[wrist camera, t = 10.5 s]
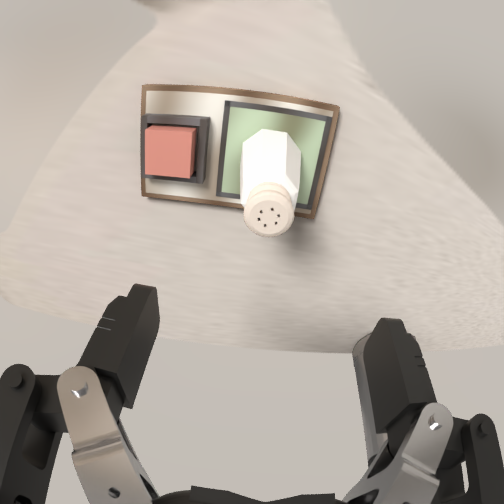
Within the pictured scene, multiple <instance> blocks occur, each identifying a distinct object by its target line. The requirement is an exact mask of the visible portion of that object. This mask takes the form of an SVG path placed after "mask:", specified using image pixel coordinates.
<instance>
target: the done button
mask: <svg viewBox="0 0 504 504" xmlns="http://www.w3.org/2000/svg"><path fill="white" fill-rule="evenodd" d="M196 132H197V128H188V127H174V126H154V125H152V126H150V127H149V128H147V129H145V174H148V175H160V176H170V177H180V178H190V177H191V176H192V174H193V173H194V163H195V146H196Z"/></svg>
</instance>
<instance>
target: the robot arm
mask: <svg viewBox="0 0 504 504" xmlns="http://www.w3.org/2000/svg"><path fill="white" fill-rule="evenodd" d="M159 323H160V315H159V306H158V297H157V289H156V287H152V286H146V285H141V284H134V285H133V286H132V288H131V290H130V292H129V294H128V296H127V297H124V296H118V297H117V298H116V299H114V300H113V301H112V302H111V303H110V304H108V306H107V308H106V310H105V312H104V314H103V315H102V318H101V319H100V321H99V323H98V325H97V328H96V329H95V331H94V333H93V335H92V336H91V338H90V341H89V342H88V345H87V347H86V348H85V351H84V353H83V355H82V357H81V359H80V361H79V362H78V364H77V365H76V366H75V367H71V368H69V369H67V370H66V371H64V372H63V373H62V374H61V375H35V374H34V373H33V372H32V370H31V369H30V368H29V367H28V366H26V365H23V364H15V365H12V366H10V367H9V368H7V369H6V370H5V371H4V373H3V375H2V376H1V378H0V504H45V500H46V496H47V491H48V487H49V482H50V478H51V474H52V470H53V466H54V462H55V458H56V454H57V451H58V447H59V444H60V440H61V437H62V434H63V432H66V433H69V435H70V438H71V441H72V444H73V448H74V451H73V452H72V460H73V464H74V467H75V469H76V472H77V474H78V477H79V479H80V482H81V485H82V487H83V489H84V492H85V494H86V496H87V499H88V501H89V503H90V504H504V467H503V461H502V456H501V451H500V447H499V442H498V437H497V433H496V429H495V425H494V423H493V421H492V420H491V419H490V417H488V416H487V415H485V414H477V415H475V416H474V417H473V418H472V419H470V420H464V419H460V418H455V417H452V415H451V413H450V411H449V410H448V409H447V408H446V407H445V406H444V405H442V404H439V403H437V401H436V397H435V394H434V391H433V387H432V384H431V380H430V378H429V374H428V371H427V368H425V362H424V359H423V358H422V353H421V350H420V347H419V344H418V343H417V341H416V338H415V336H412V335H411V334H409V333H407V332H406V329H405V327H404V324H403V322H402V320H401V319H392V318H381V319H380V320H379V321H378V323H377V325H376V327H375V328H374V330H373V332H372V333H371V334H369V335H367V336H366V337H364V338H363V339H361V340H360V341H359V342H358V343H357V344H356V346H355V347H354V349H353V354H352V355H353V360H354V367H355V372H356V378H357V385H358V391H359V397H360V403H361V411H362V417H363V425H364V433H365V441H366V449H367V458H368V467H369V468H368V470H367V471H366V473H365V474H364V476H363V477H362V479H361V480H360V481H359V482H358V483H357V484H356V485H355V486H354V487H353V488H352V489H351V490H350V491H349V492H348V494H346V496H345V497H344V499H343V500H342V501H340V500H337V499H335V494H334V493H333V494H315V495H314V494H311V495H298V496H294V497H290V498H286V499H280V500H275V501H270V502H261V501H258V500H255V499H251V498H248V497H245V496H242V495H239V494H235V493H232V492H230V491H225V490H216V489H210V488H203V487H197V486H191V490H186V491H178V492H173V493H169V494H166V495H163V496H161V497H160V496H159V494H158V493H157V491H156V489H155V488H154V486H153V484H152V482H151V480H150V478H149V477H148V475H147V473H146V472H145V470H144V468H143V467H142V465H141V463H140V462H139V459H138V457H137V455H136V453H135V451H134V449H133V447H132V445H131V443H130V440H129V438H128V436H127V434H126V432H125V430H124V427H123V425H122V422H121V420H120V418H119V416H120V413H121V410H122V407H126V408H130V409H132V408H133V404H134V401H135V398H136V395H137V392H138V389H139V386H140V383H141V380H142V377H143V374H144V371H145V368H146V365H147V362H148V358H149V356H150V353H151V350H152V347H153V345H154V342H155V339H156V336H157V333H158V329H159ZM464 461H466V467H467V474H468V481H469V488H468V491H467V492H466V493H465V490H464V482H463V474H462V466H461V463H462V462H464Z"/></svg>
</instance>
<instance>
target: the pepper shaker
mask: <svg viewBox="0 0 504 504" xmlns="http://www.w3.org/2000/svg"><path fill="white" fill-rule="evenodd" d="M300 166H301V151H300V149H299V148H298V147H297V145H296V144H295V142H294V141H293V140H292V138H291V137H290V136H289V134H288V133H287V132H281V131H274V130H267V129H261V130H260V131H259V132H257V133H256V134H254V135H253V136H252V137H250V138H249V139H247V140H246V141H245V142H243V146H242V154H241V162H240V200H241V204H242V206H243V207H244V214H243V215H244V221H245V223H246V225H247V227H248V228H249V229H250V230H251V231H252V232H254V233H255V234H258V235H260V236H264V237H275V236H278V235H281V234H283V233H284V232H286V231H287V230H288V229H289V228H290V227H291V225H292V223H293V220H294V210H295V207H296V202H297V197H298V192H299V184H300Z"/></svg>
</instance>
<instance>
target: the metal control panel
mask: <svg viewBox="0 0 504 504" xmlns="http://www.w3.org/2000/svg"><path fill="white" fill-rule="evenodd" d="M339 109H340V107H339V106H337V105H332V104H328V103H323V102H318V101H313V100H308V99H303V98H298V97H292V96H286V95H280V94H273V93H266V92H259V91H251V90H243V89H233V88H223V87H210V86H194V85H162V84H146V85H142V98H141V191H142V196H144V197H154V198H163V199H172V200H180V201H189V202H197V203H205V204H213V205H221V206H228V207H236V208H243V209H244V207H243V206H242V204H241V200H240V162H241V154H242V146H243V142H245V141H246V140H247V139H249V138H250V137H252V136H253V135H254V134H256V133H257V132H259V131H260V130H261V129H267V130H274V131H281V132H287V133H288V134H289V136H290V137H291V138H292V140H293V141H294V142H295V144H296V145H297V147H298V148H299V149H300V151H301V166H300V184H299V192H298V197H297V202H296V207H295V210H294V216H298V217H304V218H310V219H314V217H315V213H316V209H317V205H318V201H319V197H320V193H321V189H322V185H323V181H324V176H325V172H326V168H327V164H328V159H329V155H330V151H331V146H332V142H333V137H334V133H335V128H336V124H337V119H338V114H339ZM152 125H154V126H174V127H188V128H197V132H196V146H195V163H194V173H193V174H192V176H191V177H190V178H180V177H170V176H160V175H148V174H145V129H147V128H149V127H150V126H152Z"/></svg>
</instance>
